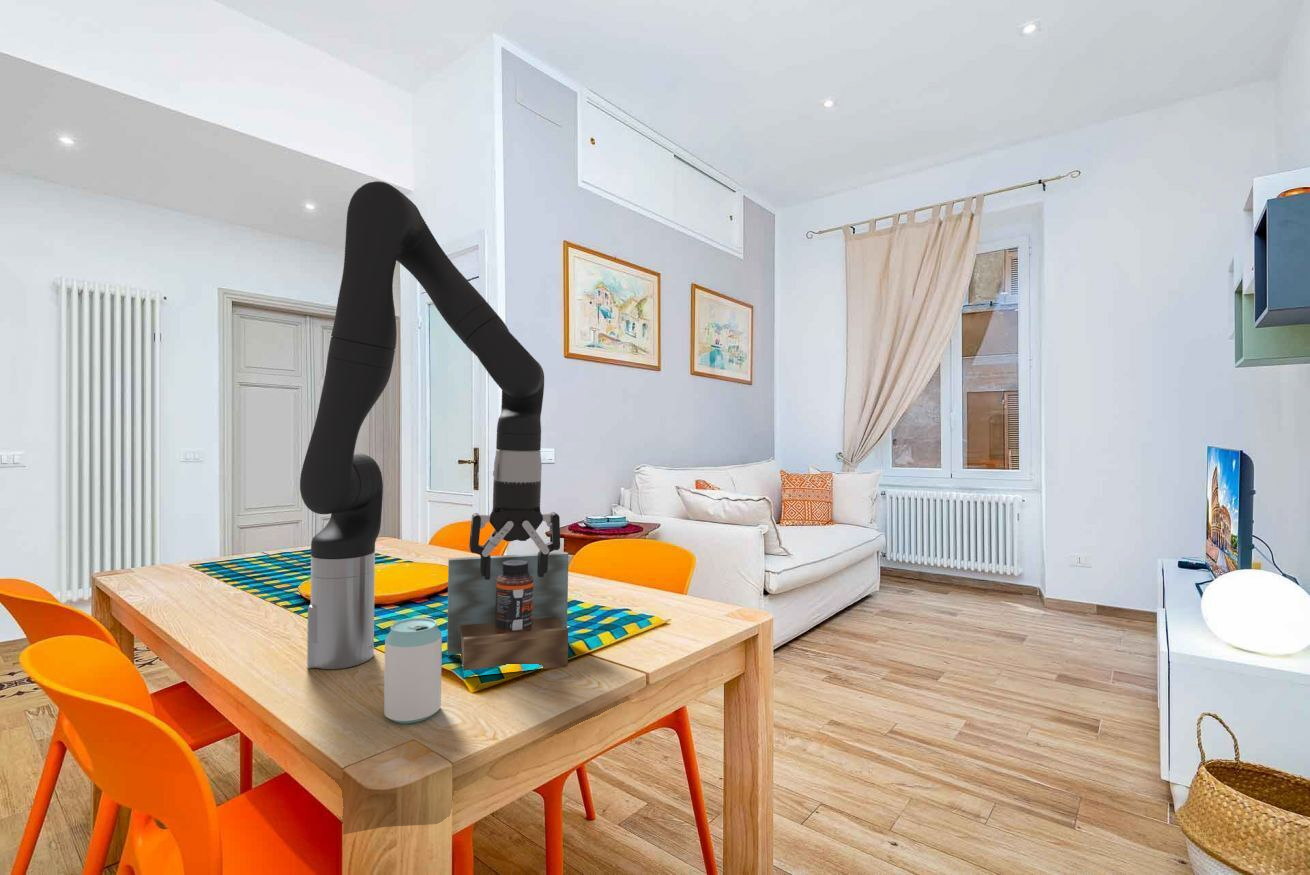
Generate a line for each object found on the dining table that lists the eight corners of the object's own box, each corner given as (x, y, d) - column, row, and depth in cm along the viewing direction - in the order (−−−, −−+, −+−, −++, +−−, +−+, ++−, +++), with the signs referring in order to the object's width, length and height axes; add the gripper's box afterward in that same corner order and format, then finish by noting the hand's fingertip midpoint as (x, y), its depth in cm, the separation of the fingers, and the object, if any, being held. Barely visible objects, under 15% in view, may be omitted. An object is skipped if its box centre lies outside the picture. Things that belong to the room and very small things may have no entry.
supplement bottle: (527, 638, 98) (529, 567, 97) (490, 637, 98) (491, 565, 98) (536, 625, 104) (537, 558, 103) (500, 624, 104) (501, 557, 104)
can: (445, 700, 87) (447, 615, 86) (434, 725, 80) (435, 632, 79) (393, 702, 86) (394, 616, 85) (376, 727, 79) (377, 633, 78)
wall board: (449, 680, 93) (451, 574, 93) (447, 653, 104) (448, 558, 103) (579, 664, 100) (581, 566, 100) (564, 641, 111) (566, 552, 110)
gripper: (473, 480, 94) (470, 586, 95) (566, 480, 99) (562, 580, 100) (470, 475, 101) (466, 574, 102) (556, 475, 106) (553, 569, 107)
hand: (514, 577), depth 101 cm, fingers open, 8 cm apart
